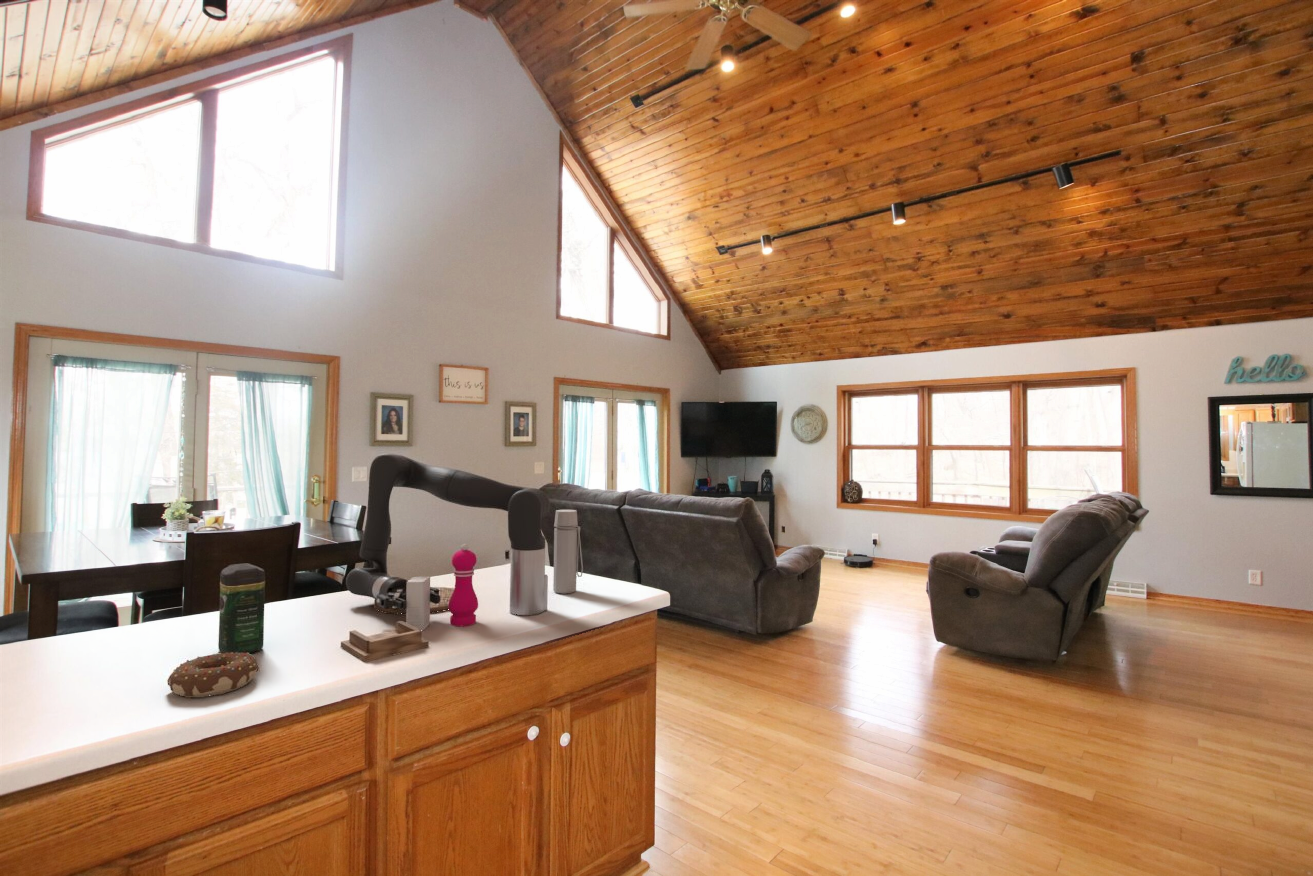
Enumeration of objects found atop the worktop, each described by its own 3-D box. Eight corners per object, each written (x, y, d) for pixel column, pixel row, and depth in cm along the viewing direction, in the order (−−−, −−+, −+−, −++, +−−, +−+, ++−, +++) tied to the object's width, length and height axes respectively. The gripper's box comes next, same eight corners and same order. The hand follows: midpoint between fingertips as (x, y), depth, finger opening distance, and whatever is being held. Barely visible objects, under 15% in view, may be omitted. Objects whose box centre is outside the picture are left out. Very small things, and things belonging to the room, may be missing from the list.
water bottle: (549, 594, 192) (550, 511, 192) (557, 588, 199) (558, 509, 199) (578, 595, 190) (579, 512, 190) (585, 589, 198) (586, 509, 198)
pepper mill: (469, 628, 156) (470, 546, 156) (442, 625, 157) (443, 545, 157) (482, 620, 163) (484, 542, 163) (457, 618, 164) (458, 541, 165)
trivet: (379, 596, 188) (379, 589, 188) (467, 591, 195) (467, 585, 195) (368, 618, 164) (368, 611, 164) (468, 612, 171) (468, 605, 171)
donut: (266, 687, 117) (267, 660, 117) (174, 708, 108) (175, 679, 108) (247, 667, 128) (248, 642, 128) (162, 685, 118) (163, 658, 118)
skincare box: (412, 624, 158) (413, 576, 159) (430, 623, 159) (430, 576, 159) (405, 631, 152) (405, 581, 152) (423, 631, 153) (424, 581, 153)
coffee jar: (267, 651, 136) (269, 565, 136) (224, 660, 131) (225, 570, 131) (256, 641, 143) (258, 559, 143) (214, 648, 138) (216, 563, 138)
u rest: (402, 634, 150) (402, 618, 150) (428, 646, 141) (428, 630, 141) (340, 647, 140) (341, 630, 140) (364, 661, 131) (364, 644, 131)
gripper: (365, 580, 160) (393, 591, 149) (419, 572, 171) (449, 582, 160) (364, 610, 160) (392, 623, 149) (418, 600, 171) (448, 612, 159)
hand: (421, 602), depth 154 cm, fingers open, 8 cm apart
